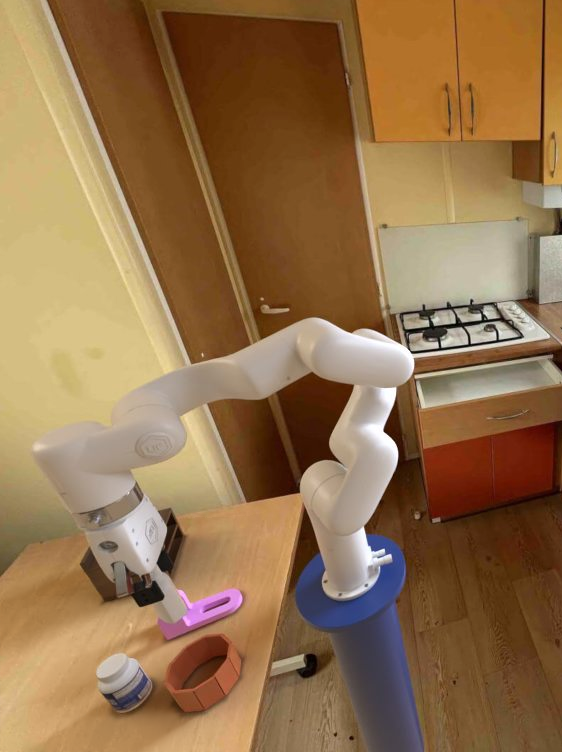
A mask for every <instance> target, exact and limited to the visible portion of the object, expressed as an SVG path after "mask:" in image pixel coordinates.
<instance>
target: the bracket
mask: <svg viewBox="0 0 562 752" xmlns="http://www.w3.org/2000/svg"><path fill="white" fill-rule="evenodd" d="M177 590H178V592H179V594H180V595H181V597H182V599H183V601H184V602H185V604H186V606H187V614H186V615H185V616H184V617H183V618H181V619H180V620H179V621H177V622H176V623H174V624H170V623H166V622H164V621H162V620H161V619H160V617H159V616H157V622H156V624H157V626H158V627H159V629H160V630H161V632H162V634H163V636H164V637H165V638H166V640H167V641H170V640H172V639H174V638H177V637H179V636H182V635H184V634H186V633H189V632H191V631H194V630H196V629H198V628H201V627H203V626H205V625H209V624H211V623H213V622H215V621H217V620H220V619H222V618H225V617H228V616H230V615H231V614H233V613H234V612H236V611H237V610H238V609H239V608H240V606H241V605H242V603H243V595H242V593H241V591H240V590H239V589H238V588H229V589H225V590H223V591H220V592H218V593H215V594H212V595H210V596H207V597H205V598H203V599H199V600H197V601H195V602H190V600H189V599H188V597H187V595H186V593H185V592H184V591H183V590H182V589H177ZM222 604H223V605H222ZM214 607H215V608H214ZM207 610H208V611H207Z"/></svg>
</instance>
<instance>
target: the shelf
mask: <svg viewBox="0 0 562 752" xmlns="http://www.w3.org/2000/svg"><path fill="white" fill-rule="evenodd" d="M157 511H158V513H159V514H160V516H161V518H162V519H163V521H164V523H165V524H166V527H167V533H166V537H165V540H164V545H165V548H164V550H166V551H167V553H168V555H169V557H170V558H171V560H172V562H173V564H174V567H173V569H171V570H168V571H165V572H164V573H166V574H167V575H168V576H169V577H170V578H171V580H172V579H173V577H174V573H175V570H176V567H177V564H178V561H179V558H180V555H181V551H182V549H183V545H184V543H185V539H186V535H185V533H184V531H183V528H182V527H181V525H180V522H179V521H178V518H177V517H176V515H175V513H174V511H173V509H172V507H167V508H164V509H160V510H157ZM162 551H163V550H162ZM79 566H80V567H81V569H82V570H83V572H84V574H85V575H86V576H87V577H88V579H89V580H90V582H91V583H92V585H93V586H94V588H95V589H96V591H97V592H98V594H99V596H100V597H101V598H102V600H103V602H108V601H111V600H115V599H119V598H118V597H117V593H116V583H114V582H112V581H111V580H110V579H109V578H108V577H107V576H106V575H105V573H104V572H103V570H102V569H101V567H100V565H99V564H98V562H97V560H96V558H95V556H94V554H93V552H92V550H91V548H90V546H89V545H88V548H87V550H86V551H85V553H84V555H83V557H82V559H81V560H80V562H79ZM131 579H132V582H133V584H134V583H137V582H141V581H142V580H141V578H140V577H139V575H138V576H135V577H131ZM172 581H173V580H172Z"/></svg>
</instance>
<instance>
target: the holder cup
mask: <svg viewBox="0 0 562 752" xmlns="http://www.w3.org/2000/svg"><path fill="white" fill-rule="evenodd" d="M220 656H226V659H225V660H224V661H223V663H222V664H221V665H220V667H219V668H218V669H217V671H216V672H215V673H214V674H213V675H212V676H211V677H209V678H208V679H206V680H205V681H203V682H202V683H200V684H198V685H197V686H195V687H194V688H184V689H183V687H184V684H185V682H186V681H187V680H188V678H189V677H190V676H191V675H192V674H193V673H194V671H195V670H196V669H197V668H198V667H199V666H200V665H203V664H204V663H206V662H207V661H209V660H211V659H212V658H214V657H220ZM241 667H242V659H241V656H240V654H239V653H238V650H237V649H236V647H235V645H234V643H233V641H232V640H231V639H230V638H229V637H227V635H225V634H224V633H222V632H220V633H211V634H210V633H209V634H205V635H202V636H200V637H199V638H197V639H195V640H193V641H192V642H190V643H188V644H187V645H185V646H184V647H182V649H181V650H180V651H179V652H178V654H177V655H176V656H175V657H174V658H173V659H172V660H171V661H170V662H169V664H168V665H167V669H166V673H165V677H164V680H163V685H164V686H165V688H166V689H167V691H168V693H169V694H170V695H171V697H172V698H173V699H174V701H175V703H176V704H177V705H178V706H179V707H180V708H181V709H182V711H183V712H185V713H191V712H192V713H193V712H201V711H205V710H207V709H209V708H211V707H212V706H213V705H215V704H216V703H218V702H219V701H221V700H222V699H224V698H225V697H226V696H227V695H228V693H229V692H230V691H231V689H232V688H233V687H234V686H235V684H236V683H237V681H238V680H239V679H240V678H239V677H240V675H241V669H242V668H241Z"/></svg>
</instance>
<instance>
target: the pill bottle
mask: <svg viewBox="0 0 562 752" xmlns="http://www.w3.org/2000/svg"><path fill="white" fill-rule="evenodd" d="M95 676H96V678H97V679H98V682H97V689H98V692H99V693H100V694H101V695H102V696H103V698H104V699H105V700H106V701H107V702H108V703H109V705H110V706H111V707H112V708H113V709H114V710H115V712H117V713H121V714H122V713H129V712H131V711H133V710H134V709H137V708H138V707H140V705H142V704H143V703H144V702H145V701H146V700H147V698H148V697H149V695H150V694H151V692H152V689H153V682H152V680H151V679H150V677H149V675H148V674H147V672H146V671H145V670H144V669H143V667H142V665H141V664H140V662H139V661H138V660H137V659H136V658H134V657H128V656H127V655H126V653H124V652H117V653H115V654H112V655H110V656H109V657H107V658H106V659H105V660H103V661H102V662H101V663H100V664H99V666H98V667H97V669H96V671H95Z"/></svg>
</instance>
